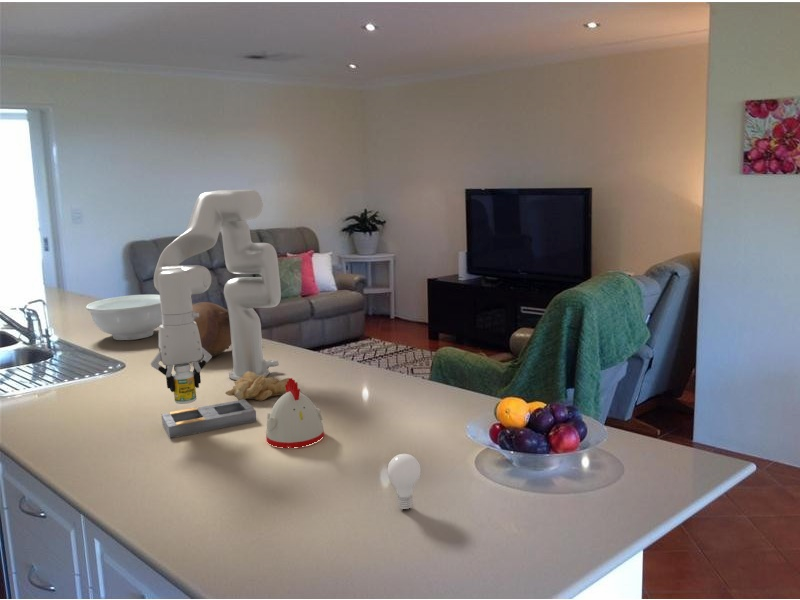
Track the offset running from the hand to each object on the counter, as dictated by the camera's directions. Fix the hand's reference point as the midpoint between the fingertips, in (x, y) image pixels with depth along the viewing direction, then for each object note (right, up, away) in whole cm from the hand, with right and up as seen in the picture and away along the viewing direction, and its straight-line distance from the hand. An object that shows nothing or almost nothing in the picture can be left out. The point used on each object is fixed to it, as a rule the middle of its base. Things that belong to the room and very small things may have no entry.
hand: (184, 387), depth 186 cm
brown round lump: (-10, +3, +77) cm, 78 cm away
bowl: (-53, +8, +109) cm, 121 cm away
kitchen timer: (+30, -12, -8) cm, 33 cm away
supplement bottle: (0, -4, +1) cm, 4 cm away
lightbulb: (+56, -18, -47) cm, 75 cm away
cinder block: (+5, -10, +4) cm, 12 cm away
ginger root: (+14, -6, +25) cm, 29 cm away
